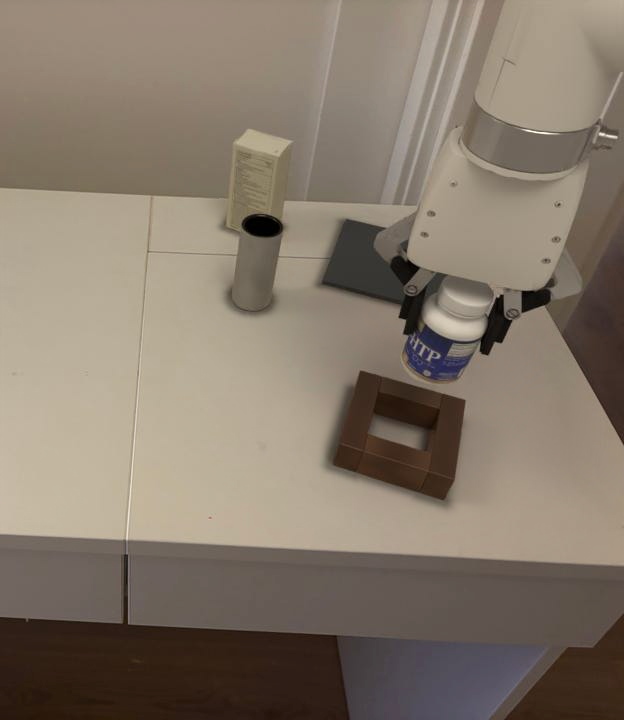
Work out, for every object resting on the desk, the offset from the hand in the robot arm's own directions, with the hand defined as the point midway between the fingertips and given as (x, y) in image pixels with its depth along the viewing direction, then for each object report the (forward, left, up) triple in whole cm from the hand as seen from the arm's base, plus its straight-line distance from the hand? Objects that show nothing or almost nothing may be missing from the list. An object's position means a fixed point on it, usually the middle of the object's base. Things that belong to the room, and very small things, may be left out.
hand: (447, 332), depth 62 cm
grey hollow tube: (+19, -15, -15) cm, 29 cm away
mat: (+5, -28, -15) cm, 32 cm away
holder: (0, 0, -15) cm, 15 cm away
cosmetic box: (+23, -29, -15) cm, 40 cm away
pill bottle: (0, 0, -4) cm, 4 cm away
